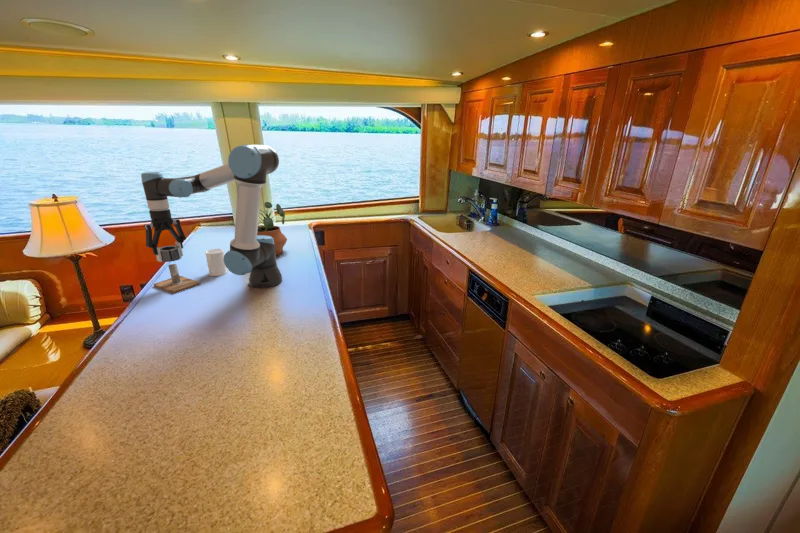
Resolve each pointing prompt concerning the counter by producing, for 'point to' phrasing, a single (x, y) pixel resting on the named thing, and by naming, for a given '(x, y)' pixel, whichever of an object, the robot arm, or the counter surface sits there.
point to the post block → (176, 281)
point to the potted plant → (273, 228)
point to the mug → (216, 262)
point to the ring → (170, 253)
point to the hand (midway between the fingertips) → (170, 258)
